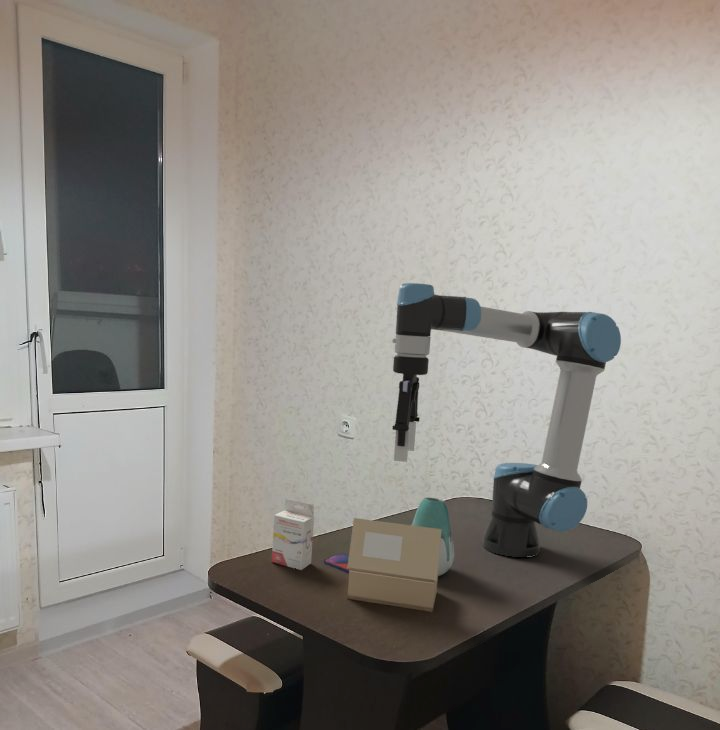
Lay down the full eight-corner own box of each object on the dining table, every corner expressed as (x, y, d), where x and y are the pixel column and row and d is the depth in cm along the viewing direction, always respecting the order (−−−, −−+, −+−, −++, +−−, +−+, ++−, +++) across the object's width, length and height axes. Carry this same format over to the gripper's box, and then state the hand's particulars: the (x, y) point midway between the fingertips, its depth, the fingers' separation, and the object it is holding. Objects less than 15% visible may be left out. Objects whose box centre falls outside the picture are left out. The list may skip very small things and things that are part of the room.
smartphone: (341, 556, 158) (341, 552, 158) (389, 574, 149) (389, 569, 149) (321, 564, 153) (321, 560, 153) (370, 583, 143) (370, 578, 143)
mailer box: (436, 592, 140) (438, 565, 140) (432, 612, 130) (434, 583, 130) (357, 580, 144) (359, 554, 143) (347, 598, 134) (349, 571, 133)
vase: (424, 558, 160) (429, 488, 158) (462, 573, 151) (467, 500, 150) (393, 569, 151) (398, 495, 150) (431, 585, 143) (437, 508, 142)
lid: (441, 529, 133) (441, 529, 132) (436, 583, 130) (436, 583, 129) (354, 518, 137) (353, 517, 136) (347, 570, 134) (346, 570, 133)
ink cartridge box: (270, 562, 150) (273, 502, 149) (281, 556, 155) (284, 497, 154) (301, 570, 147) (305, 509, 146) (312, 563, 151) (315, 503, 150)
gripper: (402, 351, 149) (395, 443, 150) (385, 356, 126) (377, 464, 127) (433, 354, 147) (427, 446, 149) (422, 359, 124) (414, 469, 126)
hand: (404, 455), depth 138 cm, fingers open, 11 cm apart
